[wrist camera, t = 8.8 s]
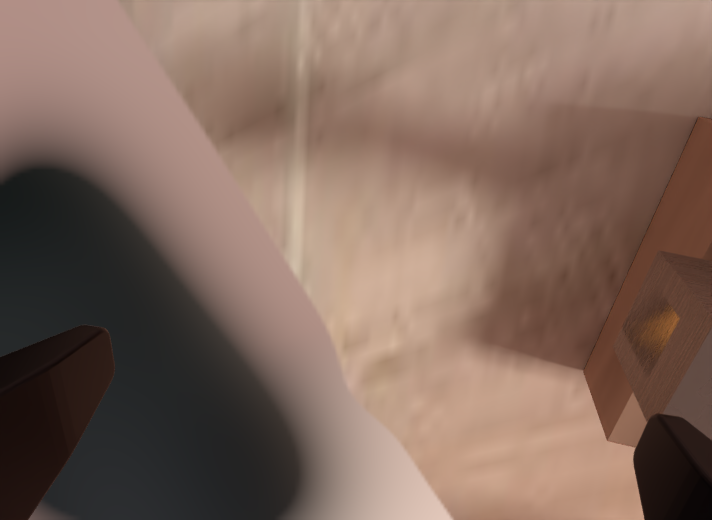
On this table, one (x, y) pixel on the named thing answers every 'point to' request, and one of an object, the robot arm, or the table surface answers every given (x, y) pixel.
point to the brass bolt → (671, 340)
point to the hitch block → (666, 233)
